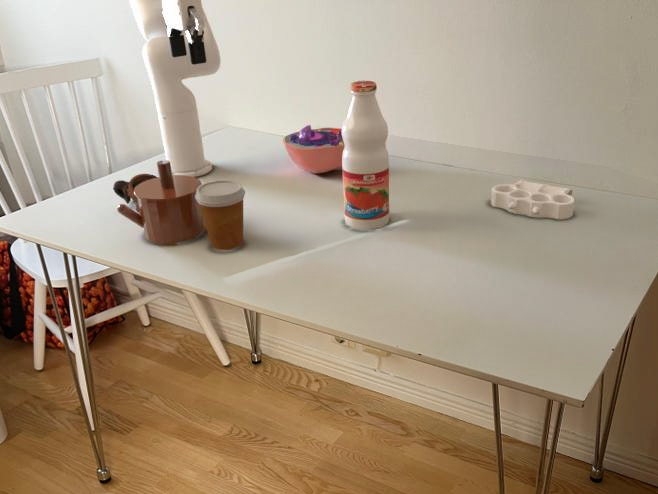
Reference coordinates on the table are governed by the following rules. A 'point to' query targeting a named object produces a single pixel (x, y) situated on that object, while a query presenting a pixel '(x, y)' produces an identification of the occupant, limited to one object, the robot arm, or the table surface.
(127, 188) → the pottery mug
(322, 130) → the cell model
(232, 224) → the disposable coffee cup
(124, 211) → the teapot spout handle
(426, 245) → the table surface
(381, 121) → the fruit juice
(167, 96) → the robot arm
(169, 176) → the lid
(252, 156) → the table surface
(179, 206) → the brown hollow round container
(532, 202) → the knuckle duster
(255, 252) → the table surface
